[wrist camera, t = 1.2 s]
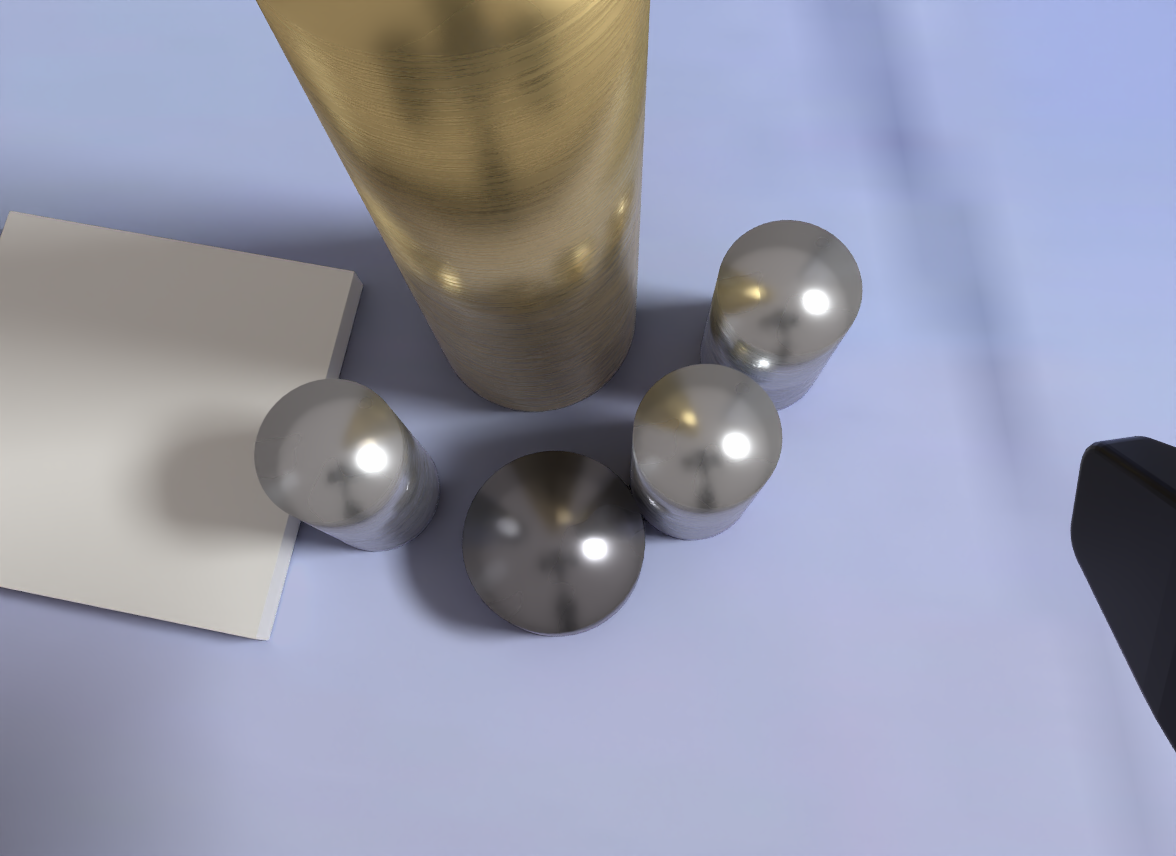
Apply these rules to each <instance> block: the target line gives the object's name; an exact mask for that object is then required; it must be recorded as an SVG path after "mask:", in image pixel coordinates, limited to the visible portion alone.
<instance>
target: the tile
mask: <svg viewBox="0 0 1176 856" xmlns="http://www.w3.org/2000/svg"><path fill="white" fill-rule="evenodd" d="M362 288H363V284H362V282H361V281H360V279H359V278H358V276H357V275H356V273H355V272H354V271H349V270H344V269H338V268H332V267H327V266H321V265H315V264H310V263H304V262H298V261H292V260H287V259H281V258H275V257H270V256H264V255H258V254H253V253H247V252H241V251H236V250H230V249H224V248H219V247H213V246H207V245H201V244H196V243H190V242H184V241H179V240H173V239H167V238H162V237H156V236H150V235H145V234H139V233H133V232H127V231H122V230H116V229H110V228H105V227H99V226H93V225H88V224H82V223H76V222H71V221H65V220H59V219H54V218H48V217H42V216H36V215H31V214H25V213H19V212H14V211H10V212H9V215H8V217H7V220H6V223H5V226H4V228H3V231H2V234H1V237H0V587H4V588H9V589H13V590H18V591H23V592H28V593H33V594H38V595H43V596H48V597H52V598H57V599H62V600H67V601H72V602H77V603H82V604H87V605H91V606H96V607H101V608H106V609H111V610H116V611H121V612H125V613H130V614H135V615H140V616H145V617H150V618H155V619H160V620H164V621H169V622H174V623H179V624H184V625H189V626H194V627H199V628H203V629H208V630H213V631H218V632H223V633H228V634H233V635H237V636H242V637H247V638H252V639H258V640H267V641H269V638H270V635H271V631H272V627H273V623H274V620H275V616H276V612H277V608H278V605H279V601H280V597H281V593H282V589H283V586H284V582H285V578H286V574H287V571H288V567H289V563H290V559H291V556H292V552H293V548H294V544H295V541H296V537H297V533H298V529H299V526H300V522H301V520H299V519H297V518H295V517H293V516H291V515H289V514H288V513H286V512H284V511H283V510H281V509H280V508H279V507H278V506H276V505H275V504H274V503H273V502H272V501H271V500H270V499H269V497H268V496H267V494H266V493H265V492H264V490H263V488H262V486H261V484H260V482H259V479H258V476H257V474H256V469H255V462H254V450H255V442H256V438H257V434H258V431H259V428H260V426H261V424H262V422H263V420H264V418H265V417H266V415H267V414H268V412H269V411H270V409H271V408H272V407H273V406H274V405H275V404H276V402H278V401H279V400H280V399H281V398H282V397H283V396H284V395H286V394H287V393H289V392H290V391H291V390H293V389H295V388H297V387H299V386H301V385H303V384H306V383H308V382H312V381H316V380H322V379H339V375H340V371H341V367H342V364H343V360H344V356H345V352H346V349H347V345H348V341H349V337H350V334H351V330H352V326H353V322H354V319H355V315H356V311H357V307H358V304H359V300H360V296H361V292H362Z"/></svg>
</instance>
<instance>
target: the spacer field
mask: <svg viewBox="0 0 1176 856" xmlns="http://www.w3.org/2000/svg"><path fill="white" fill-rule="evenodd" d="M861 300H862V280H861V276H860V271H859V269H858V266H857V263H856V262H855V260H854V258H853V256H852V254H851V253H850V252H849V250H848V249H847V248H846V246H845V245H844V244H843V243H842V242H841V241H840V240H839V239H837V238H836V237H835V236H834V235H832V234H831V233H829V232H828V231H826V230H824V229H822V228H820V227H818V226H815V225H813V224H810V223H806V222H801V221H793V220H781V221H773V222H769V223H765V224H762V225H760V226H757V227H755V228H753V229H751V230H749V231H748V232H746V233H745V234H743V235H742V236H741V237H740V238H739V239H738V240H736V241H735V242H734V243H733V245H732V246H731V247H730V249H729V250H728V251H727V253H726V255H725V257H724V259H723V261H722V263H721V266H720V270H719V274H718V278H717V282H716V286H715V290H714V294H713V298H712V303H711V307H710V311H709V315H708V319H707V323H706V327H705V331H704V335H703V339H702V343H701V350H700V359H701V364H697V365H690V366H686V367H683V368H680V369H677V370H675V371H673V372H671V373H669V374H667V375H666V376H664V377H663V378H661V379H660V380H659V381H657V382H656V383H655V384H654V385H653V386H652V387H651V388H650V390H649V391H648V392H647V393H646V395H645V396H644V398H643V400H642V401H641V403H640V405H639V407H638V410H637V412H636V416H635V420H634V426H633V438H632V455H631V473H630V484H631V491H632V494H631V492H630V490H629V489H628V488H627V486H626V485H625V484H624V483H623V481H622V480H621V479H620V478H619V477H618V476H617V475H616V474H615V473H614V472H612V471H611V470H610V469H608V468H607V467H606V466H604V465H603V464H601V463H599V462H597V461H595V460H594V459H591V458H589V457H586V456H584V455H580V454H576V453H572V452H565V451H545V452H537V453H533V454H530V455H526V456H523V457H521V458H518V459H516V460H514V461H512V462H510V463H508V464H507V465H505V466H503V467H502V468H501V469H499V470H498V471H497V472H495V473H494V474H493V475H492V476H491V477H490V478H489V479H488V480H487V481H486V482H485V483H484V485H483V486H482V487H481V488H480V490H479V491H478V493H477V494H476V496H475V498H474V499H473V501H472V503H471V506H470V508H469V510H468V513H467V516H466V520H465V523H464V529H463V539H462V549H463V558H464V563H465V567H466V571H467V573H468V576H469V578H470V581H471V583H472V585H473V587H474V588H475V590H476V592H477V593H478V595H479V596H480V597H481V599H482V600H483V601H484V603H485V604H486V605H487V606H488V607H489V608H490V609H491V610H492V611H494V612H495V613H496V614H497V615H499V616H500V617H501V618H503V619H505V620H506V621H508V622H510V623H511V624H513V625H515V626H517V627H519V628H521V629H523V630H526V631H528V632H531V633H535V634H539V635H545V636H569V635H575V634H579V633H582V632H586V631H588V630H590V629H593V628H595V627H597V626H599V625H600V624H602V623H604V622H605V621H607V620H608V619H609V618H611V617H612V616H613V615H614V614H615V613H616V612H617V611H618V610H619V609H620V608H621V607H622V606H623V605H624V604H625V602H626V601H627V600H628V598H629V597H630V595H631V593H632V591H633V590H634V588H635V586H636V583H637V581H638V578H639V575H640V571H641V567H642V563H643V558H644V550H645V532H644V525H643V520H642V516H641V514H642V515H643V516H644V517H645V519H646V520H647V521H648V522H649V523H650V524H651V525H652V526H654V527H655V528H656V529H658V530H659V531H661V532H663V533H665V534H667V535H669V536H672V537H675V538H679V539H685V540H700V539H706V538H710V537H713V536H716V535H718V534H720V533H722V532H724V531H726V530H727V529H729V528H730V527H731V526H732V525H734V524H735V523H736V521H737V520H738V519H739V518H740V517H741V516H742V514H743V513H744V511H745V510H746V509H747V507H748V506H749V505H750V503H751V502H752V501H753V499H754V498H755V497H756V495H757V494H758V493H759V491H760V490H761V489H762V487H763V486H764V485H765V483H766V482H767V480H768V479H769V478H770V476H771V475H772V473H773V471H774V469H775V468H776V465H777V463H778V460H779V457H780V453H781V448H782V428H781V423H780V419H779V416H778V412H777V411H778V410H782V409H784V408H786V407H789V406H791V405H792V404H794V403H796V402H797V401H798V400H800V399H801V398H802V397H803V396H804V395H805V394H806V393H807V392H808V390H809V389H810V388H811V386H812V385H813V383H814V382H815V380H816V379H817V377H818V376H819V374H820V373H821V371H822V369H823V368H824V366H825V365H826V363H827V362H828V360H829V359H830V357H831V356H832V354H833V353H834V351H835V350H836V348H837V347H838V345H839V343H840V342H841V340H842V339H843V337H844V336H845V334H846V333H847V331H848V330H849V328H850V327H851V325H852V324H853V322H854V320H855V318H856V316H857V314H858V311H859V308H860V304H861ZM254 462H255V469H256V474H257V476H258V479H259V482H260V484H261V486H262V488H263V490H264V492H265V493H266V494H267V496H268V497H269V499H270V500H271V501H272V502H273V503H274V504H275V505H276V506H278V507H279V508H280V509H281V510H283V511H284V512H286V513H288V514H289V515H291V516H293V517H295V518H297V519H299V520H301V521H303V522H305V523H307V524H309V525H311V526H313V527H315V528H317V529H319V530H321V531H323V532H325V533H327V534H329V535H331V536H333V537H335V538H336V539H338V540H340V541H342V542H344V543H346V544H348V545H350V546H353V547H355V548H358V549H362V550H366V551H386V550H391V549H395V548H398V547H400V546H403V545H405V544H406V543H408V542H410V541H411V540H413V539H414V538H415V537H417V536H418V535H419V534H420V533H421V532H422V531H423V530H424V529H425V528H426V526H427V525H428V524H429V522H430V521H431V519H432V517H433V515H434V513H435V511H436V508H437V505H438V501H439V495H440V482H439V476H438V472H437V469H436V466H435V464H434V462H433V460H432V458H431V457H430V455H429V454H428V453H427V451H426V450H425V449H424V448H423V447H422V445H421V444H420V443H419V442H418V441H417V439H416V438H415V437H414V436H413V435H412V434H411V432H410V431H409V430H408V429H407V428H406V426H405V425H404V424H403V423H402V422H401V420H400V419H399V418H398V417H397V416H396V414H395V413H394V412H393V411H392V410H391V408H390V407H389V406H388V405H387V404H386V402H385V401H384V400H383V399H382V398H381V397H380V396H379V395H377V394H376V393H375V392H374V391H372V390H371V389H369V388H367V387H365V386H364V385H361V384H359V383H356V382H353V381H349V380H344V379H322V380H316V381H312V382H308V383H306V384H303V385H301V386H299V387H297V388H295V389H293V390H291V391H290V392H289V393H287V394H286V395H284V396H283V397H282V398H281V399H280V400H279V401H278V402H276V404H275V405H274V406H273V407H272V408H271V409H270V411H269V412H268V414H267V415H266V417H265V418H264V420H263V422H262V424H261V426H260V428H259V431H258V434H257V438H256V442H255V450H254ZM640 512H641V513H640Z"/></svg>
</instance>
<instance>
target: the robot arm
mask: <svg viewBox="0 0 1176 856" xmlns="http://www.w3.org/2000/svg"><path fill="white" fill-rule="evenodd" d="M1071 541H1072V547H1073V550H1074V553H1075V556H1076V558H1077V561H1078V563H1079V565H1080V567H1081V569H1082V571H1083V573H1084V575H1085V577H1086V579H1087V581H1088V583H1089V585H1090V587H1091V589H1092V592H1093V594H1094V596H1095V598H1096V600H1097V602H1098V604H1099V606H1100V608H1101V610H1102V612H1103V614H1104V616H1105V618H1106V620H1107V622H1108V624H1109V626H1110V628H1111V630H1112V632H1113V634H1114V637H1115V639H1116V641H1117V643H1118V645H1119V647H1120V649H1121V651H1122V653H1123V655H1124V657H1125V659H1126V661H1127V663H1128V665H1129V667H1130V669H1131V671H1132V673H1133V675H1134V677H1135V680H1136V682H1137V684H1138V686H1139V688H1140V690H1141V692H1142V694H1143V696H1144V698H1145V699H1146V701H1147V703H1148V705H1149V707H1150V709H1151V711H1152V713H1153V715H1154V716H1155V718H1156V720H1157V722H1158V724H1159V725H1160V727H1161V729H1162V730H1163V732H1164V734H1165V735H1166V737H1167V739H1168V740H1169V742H1170V744H1171V745H1172V747H1173V748H1174V750H1175V752H1176V447H1173V446H1171V445H1168V444H1165V443H1162V442H1160V441H1157V440H1154V439H1151V438H1148V437H1143V436H1134V437H1127V438H1120V439H1113V440H1106V441H1099V442H1095V443H1093V444H1092V445H1090V446H1089V447H1088V448H1087V449H1086V450H1085V452H1084V454H1083V456H1082V460H1081V464H1080V470H1079V477H1078V483H1077V489H1076V495H1075V502H1074V508H1073V514H1072V521H1071Z"/></svg>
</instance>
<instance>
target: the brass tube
mask: <svg viewBox="0 0 1176 856" xmlns="http://www.w3.org/2000/svg"><path fill="white" fill-rule="evenodd" d="M256 1H257V3H258V5H259V7H260V9H261V11H262V13H263V15H264V16H265V18H266V20H267V22H268V24H269V26H270V28H271V30H272V31H273V33H274V35H275V37H276V39H277V41H278V43H279V45H280V46H281V48H282V50H283V52H284V54H285V56H286V58H287V60H288V61H289V63H290V65H291V67H292V69H293V71H294V73H295V75H296V76H297V78H298V80H299V82H300V84H301V86H302V88H303V90H304V91H305V93H306V95H307V97H308V99H309V101H310V103H311V105H312V106H313V108H314V110H315V112H316V114H317V116H318V118H319V120H320V121H321V123H322V125H323V127H324V129H325V131H326V133H327V135H328V136H329V138H330V140H331V142H332V144H333V146H334V148H335V150H336V151H337V153H338V155H339V157H340V159H341V161H342V163H343V165H344V166H345V168H346V170H347V172H348V174H349V176H350V178H351V180H352V181H353V183H354V185H355V187H356V189H357V191H358V193H359V195H360V196H361V198H362V200H363V202H364V204H365V206H366V208H367V210H368V211H369V213H370V215H371V217H372V219H373V221H374V223H375V225H376V226H377V228H378V230H379V232H380V234H381V236H382V238H383V240H384V241H385V243H386V245H387V247H388V249H389V251H390V253H391V255H392V256H393V258H394V260H395V262H396V264H397V266H398V268H399V270H400V271H401V273H402V275H403V277H404V279H405V281H406V283H407V285H408V286H409V288H410V290H411V292H412V294H413V296H414V298H415V300H416V301H417V303H418V305H419V307H420V309H421V311H422V313H423V315H424V316H425V318H426V320H427V322H428V324H429V326H430V328H431V330H432V331H433V333H434V335H435V337H436V339H437V341H438V343H439V345H440V346H441V348H442V350H443V352H444V354H445V356H446V358H447V359H448V361H449V363H450V365H451V366H452V368H453V370H454V371H455V372H456V374H457V375H458V376H459V378H460V379H461V380H462V381H463V382H464V383H465V384H466V385H467V386H468V387H469V388H470V389H472V390H473V391H474V392H476V393H477V394H478V395H480V396H481V397H483V398H485V399H487V400H489V401H490V402H493V403H495V404H498V405H500V406H503V407H506V408H510V409H514V410H521V411H549V410H556V409H559V408H563V407H567V406H570V405H572V404H575V403H577V402H580V401H582V400H583V399H585V398H587V397H589V396H590V395H592V394H593V393H595V392H596V391H597V390H599V389H600V388H601V387H603V386H604V385H605V384H606V383H607V382H608V381H609V380H610V379H611V378H612V377H613V375H614V374H615V373H616V371H617V370H618V369H619V368H620V366H621V364H622V363H623V361H624V359H625V357H626V355H627V353H628V351H629V348H630V346H631V342H632V339H633V335H634V329H635V320H636V298H637V276H638V254H639V232H640V210H641V188H642V166H643V143H644V121H645V99H646V77H647V55H648V33H649V11H650V0H256Z"/></svg>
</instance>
